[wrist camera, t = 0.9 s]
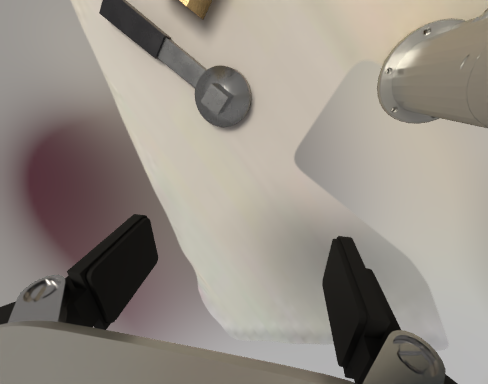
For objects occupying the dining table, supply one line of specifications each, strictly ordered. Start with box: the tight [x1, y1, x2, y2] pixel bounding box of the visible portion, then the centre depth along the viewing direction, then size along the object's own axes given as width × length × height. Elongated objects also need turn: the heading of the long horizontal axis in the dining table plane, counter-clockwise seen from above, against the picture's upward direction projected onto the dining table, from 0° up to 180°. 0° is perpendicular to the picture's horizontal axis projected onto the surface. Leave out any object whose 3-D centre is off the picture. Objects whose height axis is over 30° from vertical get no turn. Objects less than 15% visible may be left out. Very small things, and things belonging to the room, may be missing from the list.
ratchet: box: [99, 0, 251, 127], centre depth 32 cm, size 9×26×6 cm, turn 54°
